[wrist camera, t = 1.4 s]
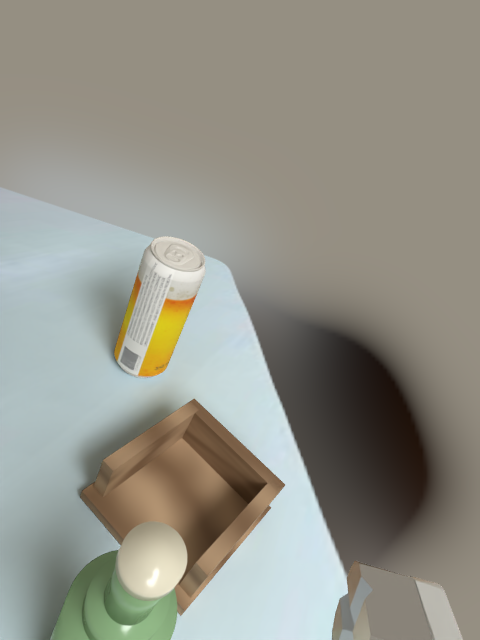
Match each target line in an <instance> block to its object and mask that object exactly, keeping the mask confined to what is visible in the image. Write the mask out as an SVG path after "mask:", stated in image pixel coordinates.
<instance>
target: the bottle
mask: <svg viewBox="0 0 480 640" xmlns="http://www.w3.org/2000/svg"><path fill="white" fill-rule="evenodd" d="M186 566H187V550H186V546H185V543H184V541H183V539H182V537H181V536H180V535H179V533H178V532H177V531H176V530H175V529H173V528H172V527H171V526H169V525H167V524H164V523H161V522H155V521H151V522H145V523H142V524H140V525H137V526H136V527H134V528H133V529H132V530H131V531H130V532H129V533H128V534H127V535H126V537H125V539H124V540H123V542H122V544H121V547H120V549H119V550H116V551H111V552H108V553H105V554H103V555H101V556H99V557H97V558H96V559H94V560H92V561H91V562H90V563H89V564H87V565H86V566H85V567H84V568H83V569H82V570H81V572H80V573H79V574H78V576H77V577H76V578H75V580H74V582H73V583H72V585H71V587H70V590H69V592H68V594H67V597H66V599H65V602H64V605H63V607H62V610H61V612H60V615H59V617H58V620H57V623H56V625H55V628H54V630H53V633H52V635H51V638H50V640H170V639H171V637H172V634H173V631H174V628H175V624H176V618H177V598H176V593H175V589H174V587H175V586H176V585H177V583H178V582H179V581H180V579H181V578H182V576H183V574H184V572H185V569H186Z"/></svg>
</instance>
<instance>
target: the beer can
mask: <svg viewBox="0 0 480 640" xmlns="http://www.w3.org/2000/svg"><path fill="white" fill-rule="evenodd" d="M204 275H205V257H204V255H203V254H202V252H201V251H200V250H199V249H198V248H197V247H195V246H194V245H192V244H191V243H189V242H186V241H184V240H182V239H179V238H174V237H159V238H156V239H154V240H153V241H152V243H151V245H149V246H148V247H147V248H146V249H145V251H144V254H143V257H142V260H141V264H140V267H139V270H138V274H137V277H136V280H135V284H134V287H133V290H132V294H131V297H130V300H129V304H128V307H127V310H126V314H125V317H124V320H123V323H122V327H121V330H120V333H119V337H118V340H117V343H116V347H115V350H114V355H115V359H116V361H117V362H118V364H119V365H120V367H121V368H122V369H123V370H124V371H125V372H127V373H128V374H130V375H132V376H135V377H139V378H149V377H152V376H155V375H158V374H160V373H162V372H163V371H164V370H165V369H166V368H167V366H168V363H169V361H170V358H171V356H172V353H173V351H174V348H175V346H176V344H177V341H178V339H179V336H180V334H181V331H182V329H183V327H184V324H185V322H186V319H187V317H188V314H189V312H190V309H191V307H192V305H193V302H194V300H195V297H196V295H197V292H198V290H199V288H200V285H201V283H202V280H203V278H204Z"/></svg>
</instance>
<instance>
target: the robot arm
mask: <svg viewBox="0 0 480 640" xmlns="http://www.w3.org/2000/svg"><path fill="white" fill-rule="evenodd" d="M347 584H348V594H346V595H345V596H343V597H342V598H340V600H339V603H338V607H337V610H336V613H335V618H334V624H333V630H332V640H463V639H462V636H461V633H460V630H459V628H458V626H457V623H456V620H455V617H454V615H453V613H452V610H451V607H450V605H449V602H448V599H447V597H446V594H445V591H444V589H443V588H442V587H441V586H440V585H439V584H438V583H434V582H430V581H427V580H423V579H419V578H416V577H411V576H410V577H408V576H405V575H401V574H398V573H395V572H391V571H388V570H385V569H381V568H378V567H374V566H371V565H368V564H365V563H361V562H358V561H354V563H353V565H352V567H351V569H350V571H349V574H348V577H347Z"/></svg>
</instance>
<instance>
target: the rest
mask: <svg viewBox="0 0 480 640" xmlns="http://www.w3.org/2000/svg"><path fill="white" fill-rule="evenodd" d="M284 486H285V484H284V483H283V482H282V481H281V480H280V479H279V478H278V477H277V476H276V475H274V474H273V473H272V472H271V471H270V470H269V469H268V468H267V467H266V466H265V465H264V464H263V463H262V462H261V461H260V460H259V459H258V458H256V457H255V456H254V455H253V454H252V453H251V452H250V451H249V450H248V449H247V448H246V447H245V446H244V445H243V444H242V443H241V442H240V441H239V440H237V439H236V438H235V437H234V436H233V435H232V434H231V433H230V432H229V431H228V430H227V429H226V428H225V427H224V426H223V425H222V424H221V423H219V422H218V421H217V420H216V419H215V418H214V417H213V416H212V415H211V414H210V413H209V412H208V411H207V410H206V409H205V408H204V407H203V406H202V405H200V404H199V403H198V402H197V401H196V400H195V399H193V400H191V401H190V402H188V403H187V404H185V405H184V406H182V407H181V408H180V409H178V410H177V411H175V412H174V413H172V414H171V415H169V416H168V417H166V418H165V419H163V420H162V421H160V422H159V423H157V424H156V425H154V426H153V427H151V428H150V429H148V430H147V431H145V432H144V433H142V434H141V435H139V436H138V437H136V438H135V439H133V440H132V441H130V442H129V443H127V444H126V445H125V446H123V447H122V448H120V449H119V450H117V451H116V452H114V453H113V454H111V455H110V456H108V457H107V458H105V459H104V460H103V461H102V464H101V467H100V470H99V473H98V476H97V478H96V481H95V482H94V483H92V484H91V485H90V486H88V487H87V488H85V489H84V490H83V491H82V492H81V496H80V498H81V499H82V500H83V501H84V502H85V504H86V505H87V506H88V507H89V508H90V509H91V511H92V512H93V513H94V514H95V515H96V517H97V518H98V519H99V520H100V521H101V522H102V524H103V525H104V526H105V527H106V528H107V529H108V531H109V532H110V533H111V534H112V535H113V536H114V538H115V539H116V540H117V541H118V542H119V544H120V545H121V544H122V542H123V540H124V539H125V537H126V535H127V534H128V533H129V532H130V531H131V530H132V529H133V528H134V527H136V526H137V525H140V524H142V523H145V522H151V521H155V522H161V523H164V524H167V525H169V526H171V527H172V528H173V529H175V530H176V531H177V532H178V533H179V535H180V536H181V537H182V539H183V541H184V543H185V546H186V550H187V566H186V569H185V572H184V574H183V576H182V578H181V579H180V581H179V582H178V583H177V585H176V586H175V587H174V589H175V593H176V598H177V612H178V613H179V614H180V615H182V614H183V613H184V612H185V610H186V609H187V608H188V607H189V606H190V604H191V603H192V602H193V601H194V600H195V598H196V597H197V596H198V595H199V594H200V592H201V591H202V590H203V589H204V588H205V586H206V585H207V584H208V583H209V582H210V580H211V579H212V578H213V577H214V576H215V574H216V573H217V572H218V571H219V570H220V568H221V567H222V566H223V565H224V564H225V562H226V561H227V560H228V559H229V558H230V556H231V555H232V554H233V553H234V552H235V550H236V549H237V548H238V547H239V546H240V544H241V543H242V542H243V541H244V540H245V538H246V537H247V536H248V535H249V534H250V533H251V531H252V530H253V529H254V528H255V527H256V525H257V524H258V523H259V522H260V521H261V519H262V518H263V517H264V516H265V515H266V513H267V512H268V511H269V510H270V509H271V507H270V506H269V504H270V503H271V502H272V501H273V499H274V498H275V497H276V496H277V495H278V493H279V492H280V491H281V490H282V488H283V487H284Z"/></svg>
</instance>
